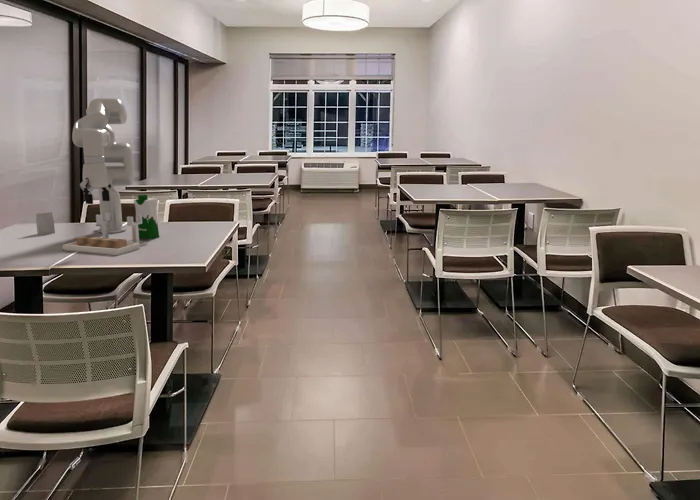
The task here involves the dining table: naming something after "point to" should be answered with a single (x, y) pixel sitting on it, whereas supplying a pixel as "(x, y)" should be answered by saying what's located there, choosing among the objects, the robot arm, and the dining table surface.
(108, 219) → the steel stand
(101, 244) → the walnut rail
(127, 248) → the off-white tray
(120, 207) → the robot arm
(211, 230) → the dining table surface
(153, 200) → the milk carton
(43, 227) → the grey block
